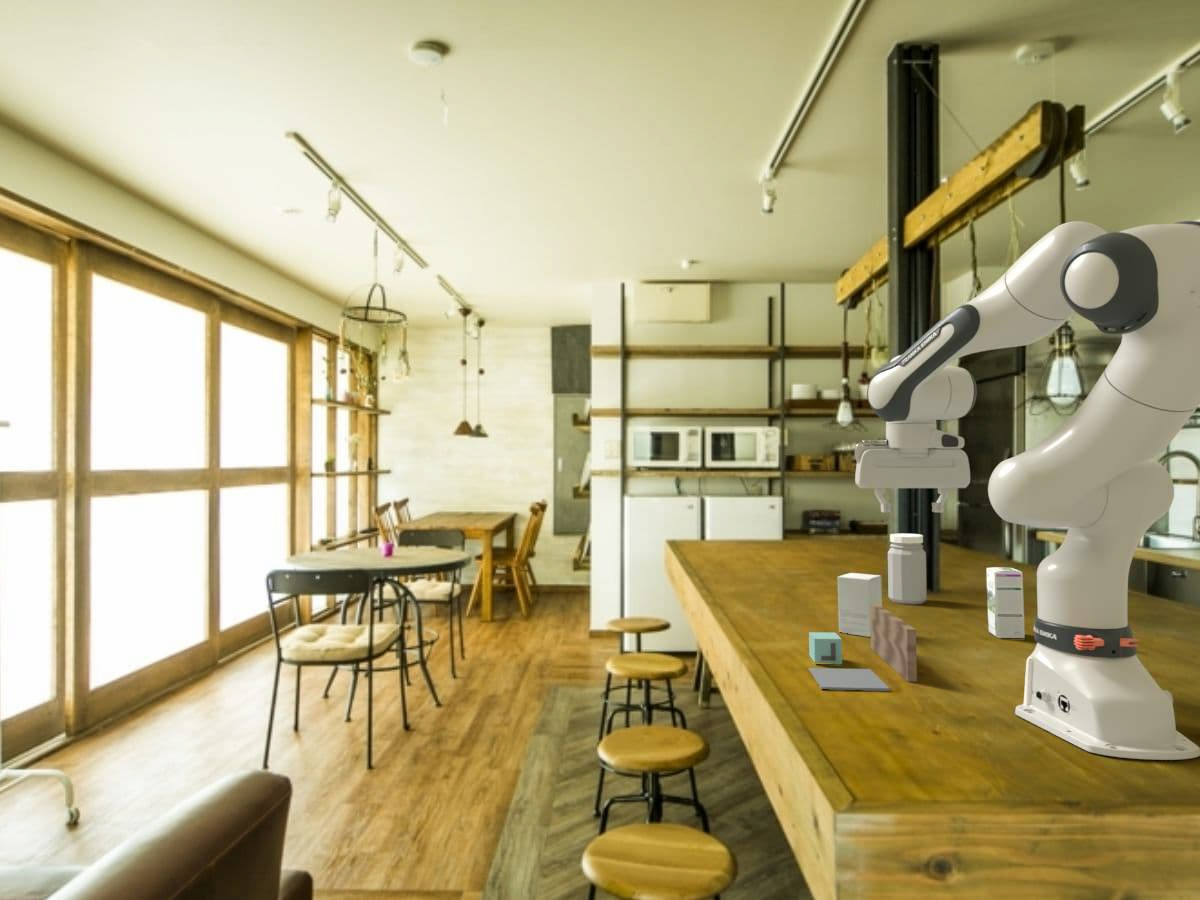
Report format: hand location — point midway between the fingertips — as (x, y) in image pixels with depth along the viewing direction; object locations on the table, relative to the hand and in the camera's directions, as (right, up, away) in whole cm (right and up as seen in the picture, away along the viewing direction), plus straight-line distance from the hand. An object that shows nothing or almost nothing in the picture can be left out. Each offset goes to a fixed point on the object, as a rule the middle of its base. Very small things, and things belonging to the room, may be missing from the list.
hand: (911, 512), depth 135 cm
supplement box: (-1, -29, +24) cm, 37 cm away
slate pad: (-16, -28, -11) cm, 34 cm away
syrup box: (+29, -29, +19) cm, 45 cm away
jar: (+24, -29, +57) cm, 69 cm away
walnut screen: (-4, -28, -1) cm, 29 cm away
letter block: (-16, -29, +1) cm, 33 cm away
